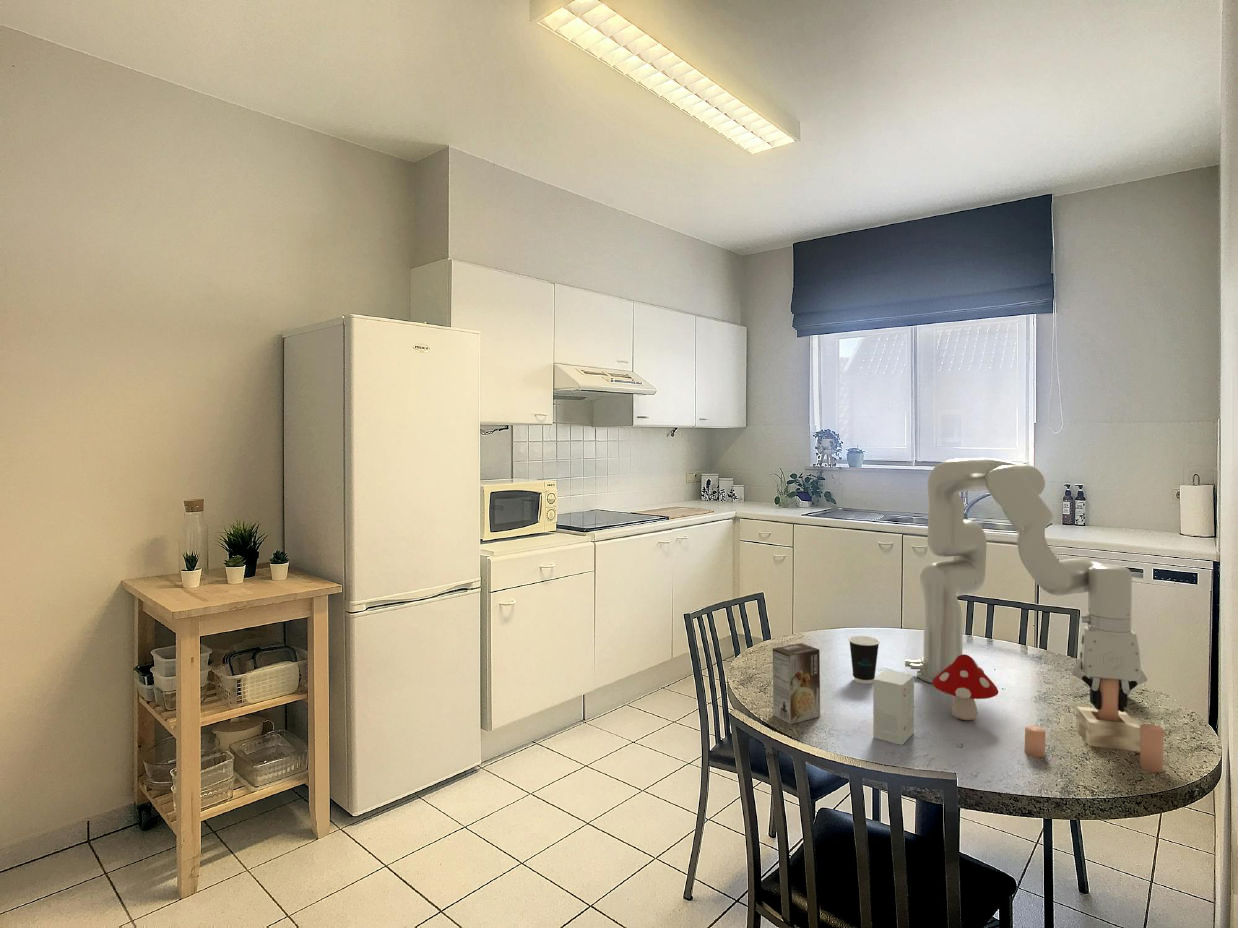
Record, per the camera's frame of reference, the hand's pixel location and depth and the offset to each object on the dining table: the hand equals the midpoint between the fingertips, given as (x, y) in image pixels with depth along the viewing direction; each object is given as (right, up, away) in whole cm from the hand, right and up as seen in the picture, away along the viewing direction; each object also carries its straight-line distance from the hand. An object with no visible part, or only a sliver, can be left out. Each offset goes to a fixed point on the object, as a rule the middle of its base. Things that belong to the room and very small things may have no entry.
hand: (1108, 707), depth 147 cm
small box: (-45, -7, +3) cm, 45 cm away
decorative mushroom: (-25, -7, +12) cm, 28 cm away
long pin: (0, -4, 0) cm, 4 cm away
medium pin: (0, -7, -12) cm, 14 cm away
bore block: (0, -7, 0) cm, 7 cm away
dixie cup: (-39, -6, +37) cm, 54 cm away
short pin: (-19, -7, -6) cm, 21 cm away
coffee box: (-63, -7, +14) cm, 65 cm away
